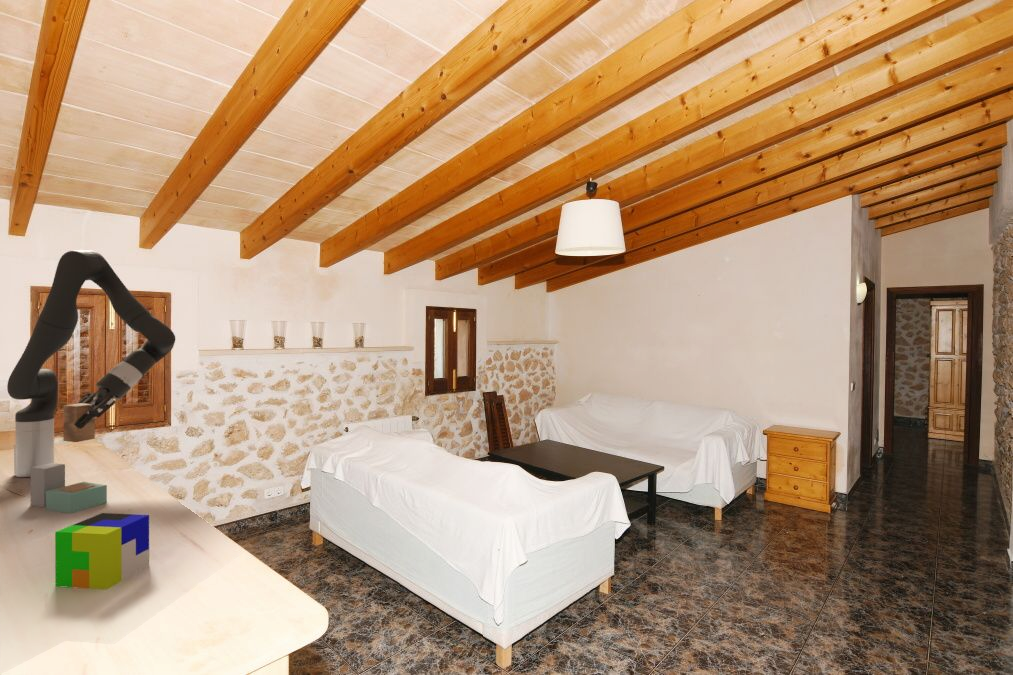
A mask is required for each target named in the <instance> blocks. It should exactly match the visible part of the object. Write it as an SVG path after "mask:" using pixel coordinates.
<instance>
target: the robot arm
mask: <svg viewBox="0 0 1013 675" xmlns="http://www.w3.org/2000/svg"><path fill="white" fill-rule="evenodd" d="M86 281H91V282H93V283H94V284H96V285H97V286H98V287H99V288H101V290H103V292H104V293H105V294H106V296H107V298H108V300H109V302H110V304H111V306H112V308H113V311H114V312H115V313H116V314H117V316H118V317H119V318H120V319H122V321H123V322H124V323H125V324H126V325H127V326H128V327H129V328H130V329H131V330H133V331H134V332H136V333H140V334H141V335H142V336H143V337H144V338H146V340H147V341H146V342H145V343H144V344H143V345H141V346H140V347H139V348H138V349H134V350H133V351H132V352H130V353H129V354H128V355H127V356H126V357H125V358H124V359H123V360H122V361H120V362H119V363H118V364H116V365H115V366H113V368H111V369H110V370H109V372H107V373H106V374H105V375H104V376H103V377H101V379H99V380H98V382H96V384H95V385H96V387H97V388H98V390H96V391H95V392H94V393H91V392H87V393H86V394H85V395H84V396H83V397H82V398H81V399H80V401H78V402H77V403H76V404H79V403H87V404H90V405H89V409H88V410H87V412H86V414H84V415H83V416H82V417H81V418H79V419H78V420H77V421H76V422H75V423H74V425H75V426H76V427H78V428H80V429H82V428H83V427H84V426H85V425H86V424H87V423H88V422H89V421H90V420H91V419H92V418H93V419H94V418H95V419H96V418H98V419H99V418H100V417H101V416H102V415H103V414H105V413H106V412H107V411H108V410H109V409H111V407H113V406H114V405H115V404H116V403H117V401H116V400H119V401H120V400H121V399H122V398H123V397H124V396H125V395H126V394H127V393H128V392H129V391H130V390H131V389H133V387H134V386H135V385H136V384H137V383H139V381H140V380H141V378H142V377H143V376H145V375H146V373H147V372H149V371H150V370H151V369H152V367H153V366H154V365H156V364H157V363H159V361H161V360H162V359H163V358H164V357H166V356H167V355H168V354H169V353H170V352H171V351H172V350H173V349H174V346H175V343H176V335H175V333H174V332H173V330H172V329H171V328H170V327H169V326H168V325H166V324H165V323H163V321H161V320H160V319H158V318H157V317H155V316H154V315H153V314H152V313H151V312H150V311H149V310H148V309H147V308H146V307H145V306H144V305H143V304H142V303H141V302H140V300H138V299H137V298H136V296H134V295H133V294H132V293H131V291H130V290H129V289H128V288H127V286H126V285H125V284H124V282H123V281H122V280H121V279H120V277H119V276H118V275H117V274H116V272H115V271H114V269H113V268H112V266H111V265H110V264H109V262H108V261H107V260H106V258H104V256H103V255H102V254H100V253H99V252H97V251H95V250H89V249H85V250H84V249H80V250H79V249H78V250H75V249H73V250H68V251H67V252H65V253H63V254H62V256H61V257H60V259H59V261H58V262H57V266H56V270H55V273H54V278H53V281H52V284H51V287H50V291H49V293H48V295H47V297H46V300H45V303H44V306H43V307H42V310H41V311H40V314H39V316H38V318H37V320H36V323H35V325H34V328H33V331H32V333H31V336H30V338H29V340H28V343H27V345H26V346H25V348H24V351H23V353H22V354H21V357H19V360H18V361H17V363H16V365H15V367H13V369H12V372H10V373H11V374H10V375H9V377H8V381H7V386H6V387H7V392H8V395H9V396H10V397H11V398H12V399H15V400H22V401H23V400H31V402H30V403H29V404H28V405H27V406H26V407H24V408H22V409H20V410H17V411H16V412H15V416H14V419H15V420H14V421H15V427H14V428H15V444H14V445H13V456H14V458H13V465H14V466H13V469H14V470H13V471H14V472H13V473H14V475H15V477H17V478H31V467H35V466H40V465H44V464H49V463H55V412H56V410H57V407H58V406H57V405H58V392H59V391H58V390H59V389H58V388H59V382H58V377H57V375H56V373H55V372H54V371H53V370H52V369H49V368H42V367H43V366H44V364H45V363H46V362H47V360H49V358H51V357H52V356H53V355H54V354H56V353H57V352H59V351H60V350H61V349H62V348H63V347H65V345H66V344H67V343H68V342H69V341H70V340H71V338H72V336H73V334H74V332H75V329H76V327H77V325H78V321H79V311H78V306H77V300H78V296H79V293H80V291H81V289H82V287H83V285H84V284H85V282H86Z"/></svg>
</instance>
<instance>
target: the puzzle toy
mask: <svg viewBox="0 0 1013 675" xmlns="http://www.w3.org/2000/svg"><path fill="white" fill-rule="evenodd" d="M54 534H55V535H54V538H55V540H54V541H55V546H54V547H55V551H54V553H55V554H54V555H55V556H54V559H55V561H54V562H55V566H54V567H55V570H54V572H55V577H54V578H55V581H54V582H55V584H54V585H55V587H57V586H67V587H66V588H73V587H77V588H78V589H90V588H91V590H95V589H96V590H108V589H110V588H111V587H113V586H115V585H117V584H118V583H120V582H122V581H124V580H125V579H127V578H129V577H131V576H132V575H134V574H136V573H138V572H140V571H141V570H143V569H144V568H146V567H148V566H150V515H149V514H132V513H112V512H102V513H98V514H96V515H94V516H92V517H89V518H87V519H84V520H81V521H79V522H77V523H74V524H70V525H69V526H67V527H64V528H61V529H59V530H56V531H54ZM77 588H76V589H77Z"/></svg>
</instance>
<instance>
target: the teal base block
mask: <svg viewBox="0 0 1013 675" xmlns="http://www.w3.org/2000/svg"><path fill="white" fill-rule="evenodd" d="M107 492H108V485H107V484H103V483H101V484H100V483H94V482H87V481H81V482H77V483H73V484H69V485H65V487H61V488H57V489H53V490H49V491H46V507H45V509H46V510H48V511H54V512H60V513H65V514H73V513H77V512H80V511H82V510H85V509H89V508H93V507H95V506H99V505H102V504H106V503H107V502H108V501H107V500H108V499H107V498H108V497H107V496H108V493H107Z"/></svg>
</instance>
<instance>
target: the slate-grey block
mask: <svg viewBox="0 0 1013 675" xmlns="http://www.w3.org/2000/svg"><path fill="white" fill-rule="evenodd" d="M65 486H66V464H65V463H64V464H63V463H56V462H54V463H49V464H44V465H40V466H35V467H31V477H30V506H32V507H40V508H46V491H49V490H53V489H57V488H61V487H65Z"/></svg>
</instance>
